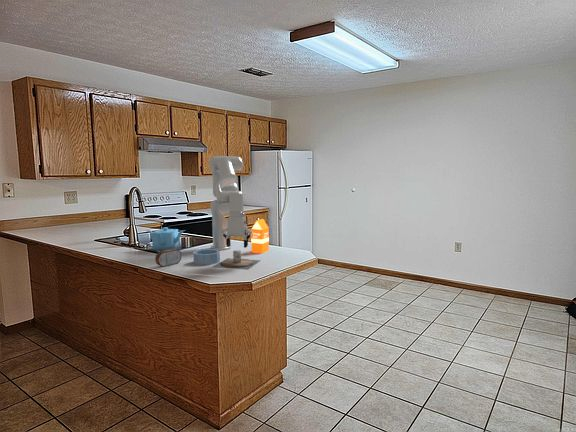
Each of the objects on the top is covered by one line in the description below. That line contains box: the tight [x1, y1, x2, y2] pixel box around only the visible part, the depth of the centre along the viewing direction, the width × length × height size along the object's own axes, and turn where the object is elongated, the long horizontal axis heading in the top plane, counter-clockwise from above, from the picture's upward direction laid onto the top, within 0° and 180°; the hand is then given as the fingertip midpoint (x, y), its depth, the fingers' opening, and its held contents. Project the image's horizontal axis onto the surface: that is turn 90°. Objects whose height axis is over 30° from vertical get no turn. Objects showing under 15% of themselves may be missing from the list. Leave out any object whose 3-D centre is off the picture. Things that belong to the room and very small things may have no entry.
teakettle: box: [145, 226, 186, 253], centre depth 244 cm, size 19×19×15 cm
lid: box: [220, 249, 253, 269], centre depth 209 cm, size 17×17×7 cm
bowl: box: [192, 248, 221, 266], centre depth 214 cm, size 14×14×6 cm
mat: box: [212, 257, 261, 270], centre depth 209 cm, size 20×20×1 cm
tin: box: [154, 248, 183, 267], centre depth 208 cm, size 15×3×8 cm, turn 141°
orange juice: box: [250, 218, 270, 254], centre depth 241 cm, size 8×9×20 cm
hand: (237, 246), depth 208 cm, fingers open, 9 cm apart
